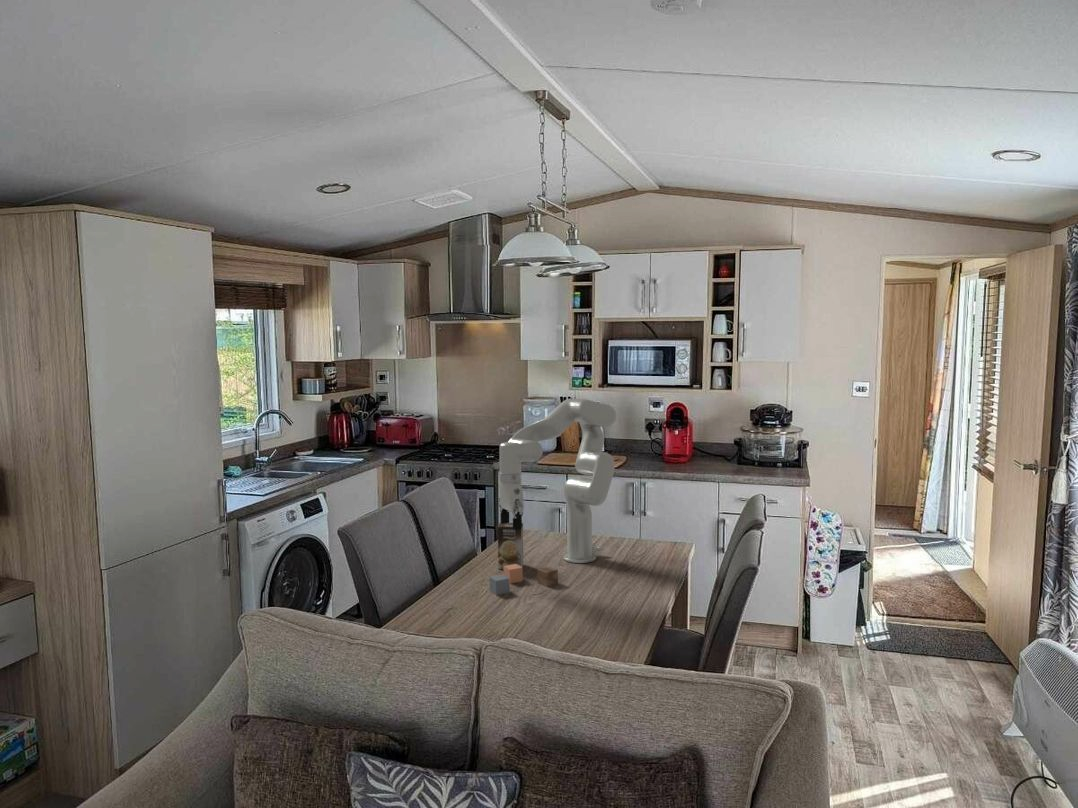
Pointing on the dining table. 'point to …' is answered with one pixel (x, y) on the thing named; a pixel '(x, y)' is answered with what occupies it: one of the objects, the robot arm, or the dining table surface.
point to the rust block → (513, 573)
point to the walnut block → (547, 576)
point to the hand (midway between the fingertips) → (511, 526)
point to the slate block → (499, 584)
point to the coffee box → (509, 545)
